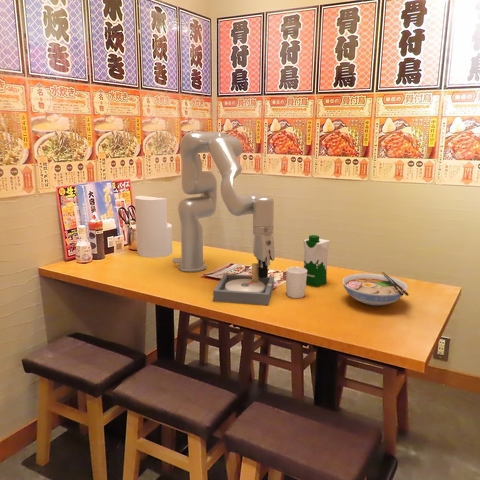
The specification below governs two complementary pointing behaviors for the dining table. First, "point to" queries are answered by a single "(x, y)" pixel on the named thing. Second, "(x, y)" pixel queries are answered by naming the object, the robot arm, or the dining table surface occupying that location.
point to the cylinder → (152, 227)
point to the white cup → (296, 281)
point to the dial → (247, 283)
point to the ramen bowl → (374, 288)
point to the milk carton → (316, 260)
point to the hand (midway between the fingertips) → (262, 277)
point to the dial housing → (242, 296)
